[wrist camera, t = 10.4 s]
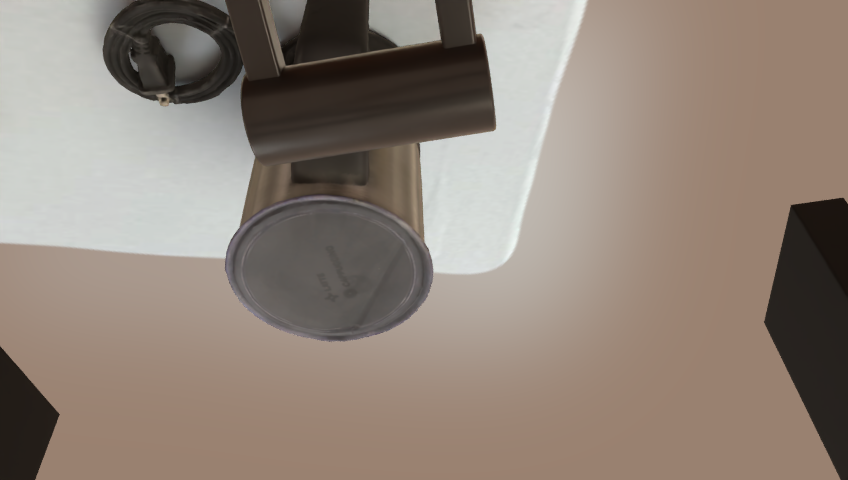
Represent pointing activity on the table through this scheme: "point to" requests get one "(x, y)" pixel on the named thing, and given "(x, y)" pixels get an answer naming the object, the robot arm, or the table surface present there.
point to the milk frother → (301, 185)
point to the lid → (361, 90)
